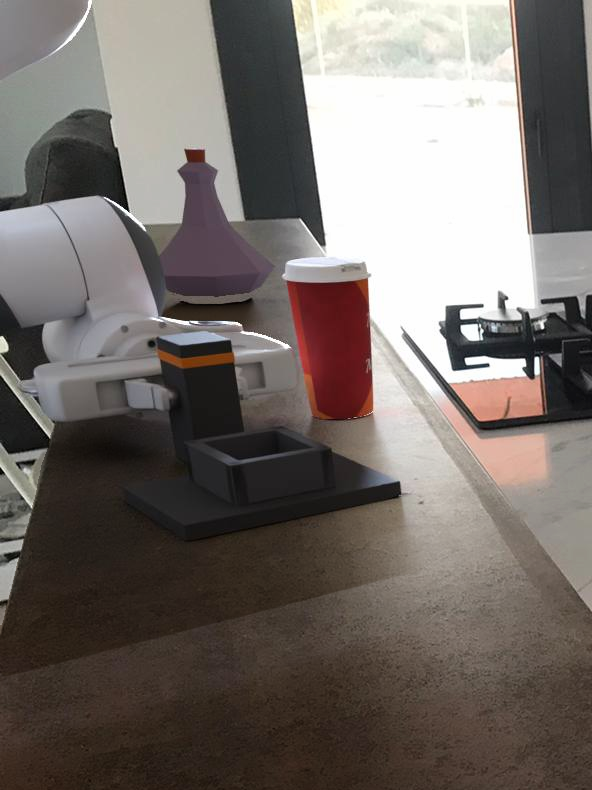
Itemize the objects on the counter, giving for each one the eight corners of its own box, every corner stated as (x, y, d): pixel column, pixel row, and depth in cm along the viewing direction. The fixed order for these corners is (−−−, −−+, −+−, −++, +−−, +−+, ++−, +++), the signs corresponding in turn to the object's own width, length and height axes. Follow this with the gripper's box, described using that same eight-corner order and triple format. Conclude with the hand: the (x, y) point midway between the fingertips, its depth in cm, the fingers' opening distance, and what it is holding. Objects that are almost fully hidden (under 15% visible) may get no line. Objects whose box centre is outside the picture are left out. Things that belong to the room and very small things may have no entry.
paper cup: (402, 410, 122) (388, 260, 117) (338, 427, 116) (320, 269, 111) (345, 399, 126) (329, 253, 121) (280, 415, 120) (260, 261, 115)
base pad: (186, 542, 87) (176, 482, 86) (124, 501, 95) (114, 446, 93) (402, 496, 98) (396, 442, 96) (329, 463, 105) (323, 413, 104)
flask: (284, 306, 176) (265, 152, 168) (152, 312, 169) (125, 152, 162) (274, 288, 189) (255, 145, 182) (151, 293, 183) (126, 145, 175)
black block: (199, 470, 103) (178, 345, 99) (174, 457, 106) (154, 336, 102) (250, 461, 105) (232, 339, 101) (224, 448, 109) (206, 330, 105)
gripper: (3, 345, 104) (58, 373, 95) (253, 319, 117) (321, 341, 108) (19, 421, 106) (74, 455, 97) (262, 387, 120) (330, 414, 111)
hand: (206, 395), depth 103 cm, fingers closed on black block, 4 cm apart
